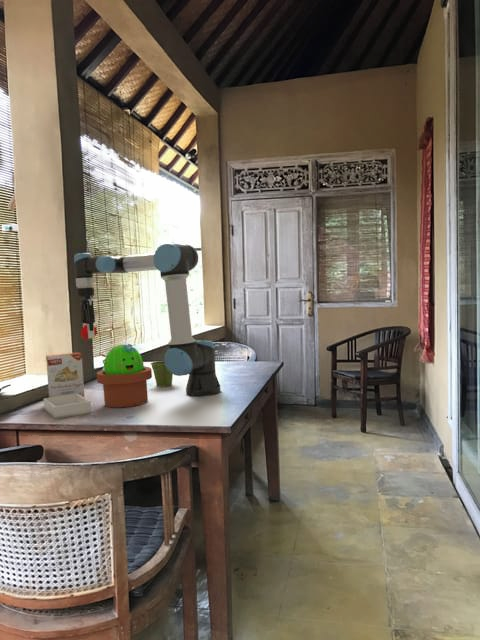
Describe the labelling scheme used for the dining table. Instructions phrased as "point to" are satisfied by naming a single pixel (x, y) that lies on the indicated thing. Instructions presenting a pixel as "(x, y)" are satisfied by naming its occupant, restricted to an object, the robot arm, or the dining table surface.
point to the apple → (85, 332)
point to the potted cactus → (124, 377)
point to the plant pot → (161, 374)
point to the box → (67, 405)
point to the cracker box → (65, 374)
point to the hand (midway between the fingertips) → (89, 337)
